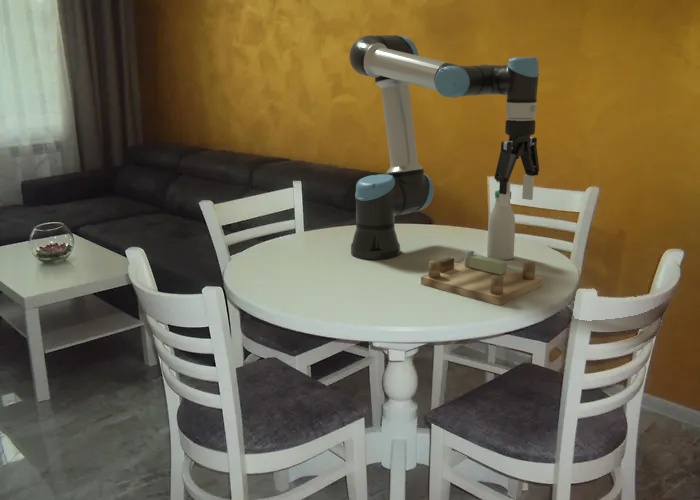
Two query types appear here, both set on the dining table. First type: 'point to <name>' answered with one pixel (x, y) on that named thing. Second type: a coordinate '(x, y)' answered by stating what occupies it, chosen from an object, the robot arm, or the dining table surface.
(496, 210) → the milk bottle
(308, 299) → the dining table surface
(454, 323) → the dining table surface
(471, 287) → the stool board
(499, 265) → the rail
